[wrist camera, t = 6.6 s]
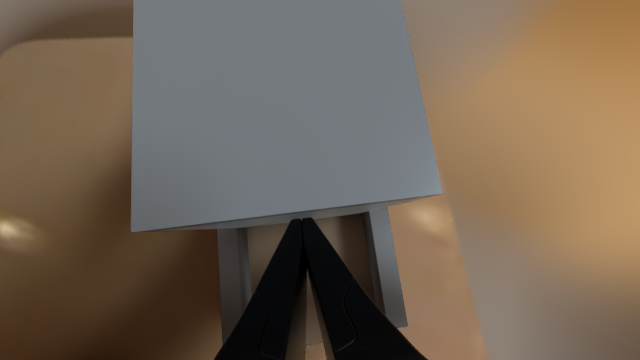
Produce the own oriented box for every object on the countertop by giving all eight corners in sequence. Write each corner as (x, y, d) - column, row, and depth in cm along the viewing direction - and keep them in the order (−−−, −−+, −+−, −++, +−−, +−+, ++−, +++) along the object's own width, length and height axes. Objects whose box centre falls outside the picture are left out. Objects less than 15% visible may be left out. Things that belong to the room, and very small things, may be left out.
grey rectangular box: (357, 213, 15) (443, 194, 5) (250, 227, 14) (130, 232, 5) (343, 120, 16) (392, -38, 6) (243, 131, 15) (134, -21, 6)
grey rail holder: (389, 320, 15) (421, 359, 11) (244, 342, 15) (215, 393, 10) (351, 88, 18) (364, 44, 14) (229, 100, 18) (201, 59, 13)
